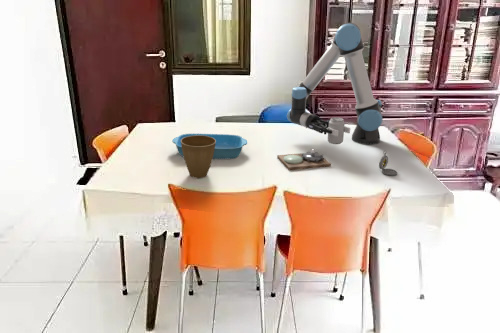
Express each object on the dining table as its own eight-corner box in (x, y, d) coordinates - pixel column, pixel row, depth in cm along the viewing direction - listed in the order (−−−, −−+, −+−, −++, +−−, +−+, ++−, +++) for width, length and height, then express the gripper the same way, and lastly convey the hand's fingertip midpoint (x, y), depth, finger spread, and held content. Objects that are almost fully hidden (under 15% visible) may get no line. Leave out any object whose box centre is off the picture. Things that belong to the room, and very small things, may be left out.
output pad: (298, 156, 210) (298, 154, 210) (305, 163, 202) (305, 161, 202) (280, 157, 208) (280, 155, 207) (287, 164, 200) (287, 162, 199)
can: (325, 140, 216) (327, 116, 211) (340, 139, 216) (342, 116, 212) (329, 145, 209) (331, 121, 204) (344, 144, 209) (346, 120, 205)
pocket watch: (397, 177, 193) (401, 156, 190) (378, 175, 195) (381, 154, 191) (395, 170, 201) (399, 149, 197) (377, 168, 202) (380, 148, 199)
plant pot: (187, 183, 181) (186, 147, 175) (178, 170, 194) (176, 136, 188) (220, 178, 187) (220, 143, 181) (209, 166, 199) (209, 133, 193)
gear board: (316, 154, 217) (317, 152, 216) (330, 166, 203) (331, 163, 202) (277, 158, 211) (277, 155, 211) (288, 170, 197) (288, 167, 197)
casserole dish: (246, 146, 227) (246, 133, 224) (247, 162, 206) (247, 148, 204) (175, 145, 226) (175, 132, 223) (170, 161, 205) (169, 147, 202)
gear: (318, 154, 214) (318, 145, 212) (327, 161, 204) (328, 152, 203) (298, 155, 211) (298, 146, 209) (306, 163, 202) (307, 154, 200)
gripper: (324, 125, 230) (357, 135, 213) (295, 131, 219) (327, 143, 202) (325, 111, 228) (358, 121, 210) (296, 117, 217) (329, 128, 199)
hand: (343, 132), depth 206 cm, fingers closed on can, 7 cm apart
